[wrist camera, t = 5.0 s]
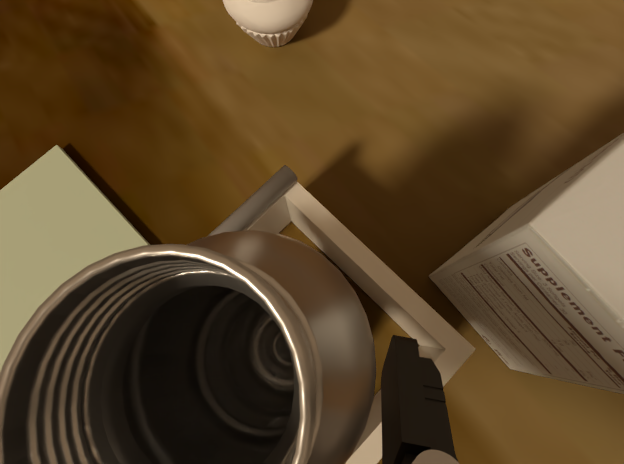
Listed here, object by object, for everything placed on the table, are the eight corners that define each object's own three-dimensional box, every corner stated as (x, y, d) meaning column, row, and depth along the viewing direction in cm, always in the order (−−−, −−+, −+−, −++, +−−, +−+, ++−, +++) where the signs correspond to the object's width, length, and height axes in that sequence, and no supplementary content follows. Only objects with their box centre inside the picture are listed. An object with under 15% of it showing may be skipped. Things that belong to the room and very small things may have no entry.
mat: (62, 148, 27) (56, 144, 27) (184, 281, 25) (180, 280, 24) (-173, 340, 24) (-186, 340, 24) (-62, 511, 22) (-73, 516, 21)
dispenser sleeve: (291, 200, 26) (283, 162, 20) (443, 345, 23) (484, 350, 18) (138, 345, 24) (79, 350, 18) (287, 521, 21) (275, 592, 16)
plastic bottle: (231, 403, 23) (-265, 803, 3) (241, 286, 25) (-56, 119, 5) (341, 409, 23) (469, 870, 3) (344, 291, 24) (442, 135, 5)
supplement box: (507, 205, 26) (681, 89, 13) (594, 296, 24) (881, 259, 12) (422, 275, 25) (524, 219, 12) (507, 374, 23) (721, 424, 11)
